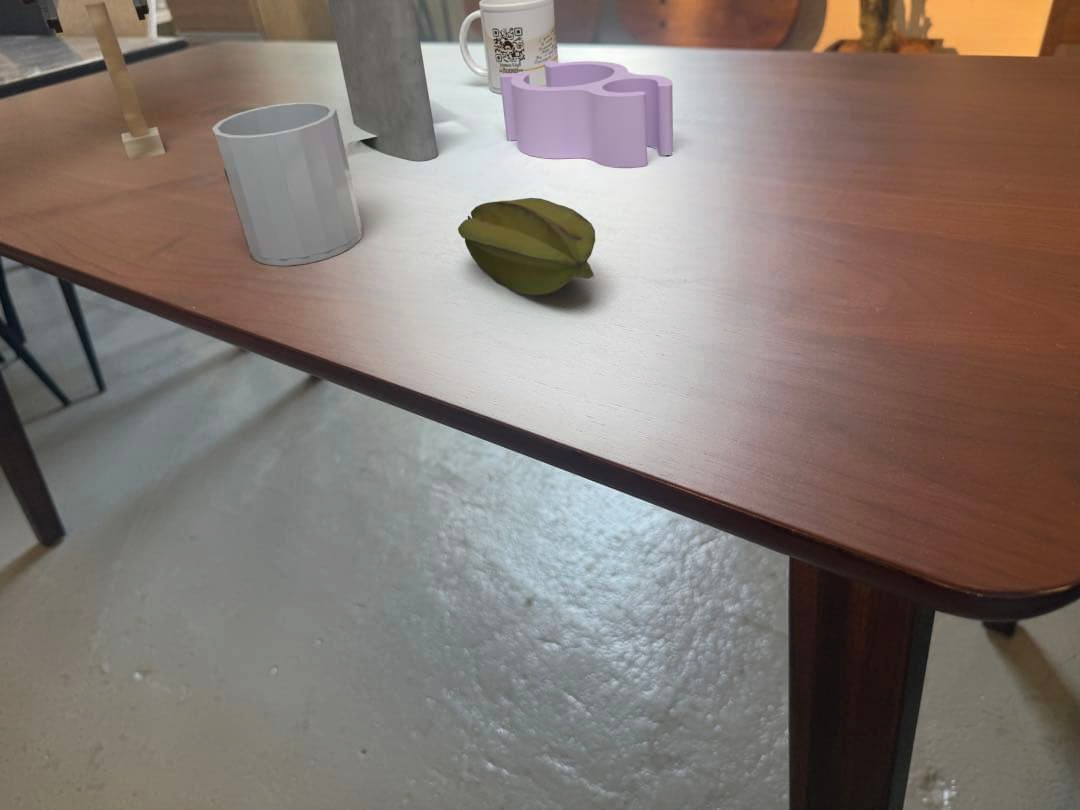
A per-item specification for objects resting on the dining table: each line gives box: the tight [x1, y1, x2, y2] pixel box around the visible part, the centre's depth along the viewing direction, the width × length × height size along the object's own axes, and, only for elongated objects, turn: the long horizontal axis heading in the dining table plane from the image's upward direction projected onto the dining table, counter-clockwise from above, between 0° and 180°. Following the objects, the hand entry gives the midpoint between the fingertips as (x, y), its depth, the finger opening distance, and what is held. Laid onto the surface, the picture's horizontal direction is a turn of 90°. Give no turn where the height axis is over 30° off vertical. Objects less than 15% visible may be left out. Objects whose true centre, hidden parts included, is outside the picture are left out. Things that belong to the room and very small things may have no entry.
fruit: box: [457, 197, 596, 296], centre depth 64 cm, size 11×12×7 cm
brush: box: [84, 0, 166, 161], centre depth 97 cm, size 4×4×18 cm
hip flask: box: [327, 0, 439, 162], centre depth 94 cm, size 16×4×20 cm, turn 38°
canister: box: [211, 101, 363, 267], centre depth 74 cm, size 10×10×11 cm
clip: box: [500, 60, 674, 169], centre depth 92 cm, size 20×12×7 cm, turn 41°
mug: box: [458, 0, 559, 95], centre depth 116 cm, size 10×12×11 cm
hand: (100, 21), depth 93 cm, fingers open, 8 cm apart
